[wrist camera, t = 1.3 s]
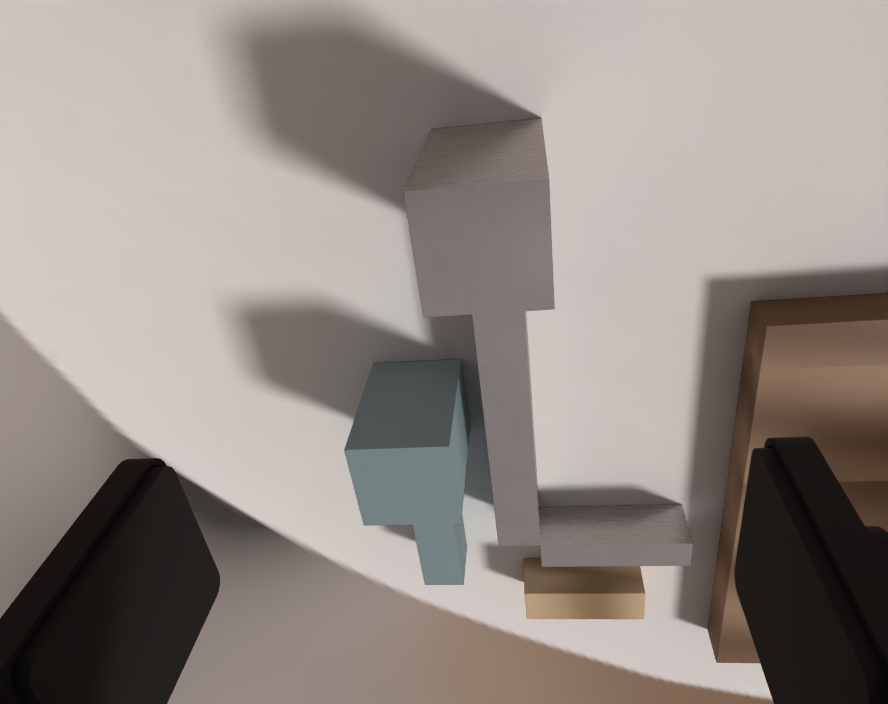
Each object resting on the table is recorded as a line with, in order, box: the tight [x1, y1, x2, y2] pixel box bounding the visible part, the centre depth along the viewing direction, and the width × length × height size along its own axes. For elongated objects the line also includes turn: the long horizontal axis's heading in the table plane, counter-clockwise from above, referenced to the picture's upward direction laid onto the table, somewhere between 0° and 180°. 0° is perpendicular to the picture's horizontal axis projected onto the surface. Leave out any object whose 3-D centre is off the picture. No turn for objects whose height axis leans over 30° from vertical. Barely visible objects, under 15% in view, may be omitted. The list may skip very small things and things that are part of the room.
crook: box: [404, 118, 693, 567], centre depth 26 cm, size 21×10×7 cm, turn 7°
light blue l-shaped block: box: [344, 359, 470, 585], centre depth 30 cm, size 12×4×6 cm, turn 7°
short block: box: [524, 558, 645, 619], centre depth 35 cm, size 6×2×2 cm, turn 97°
